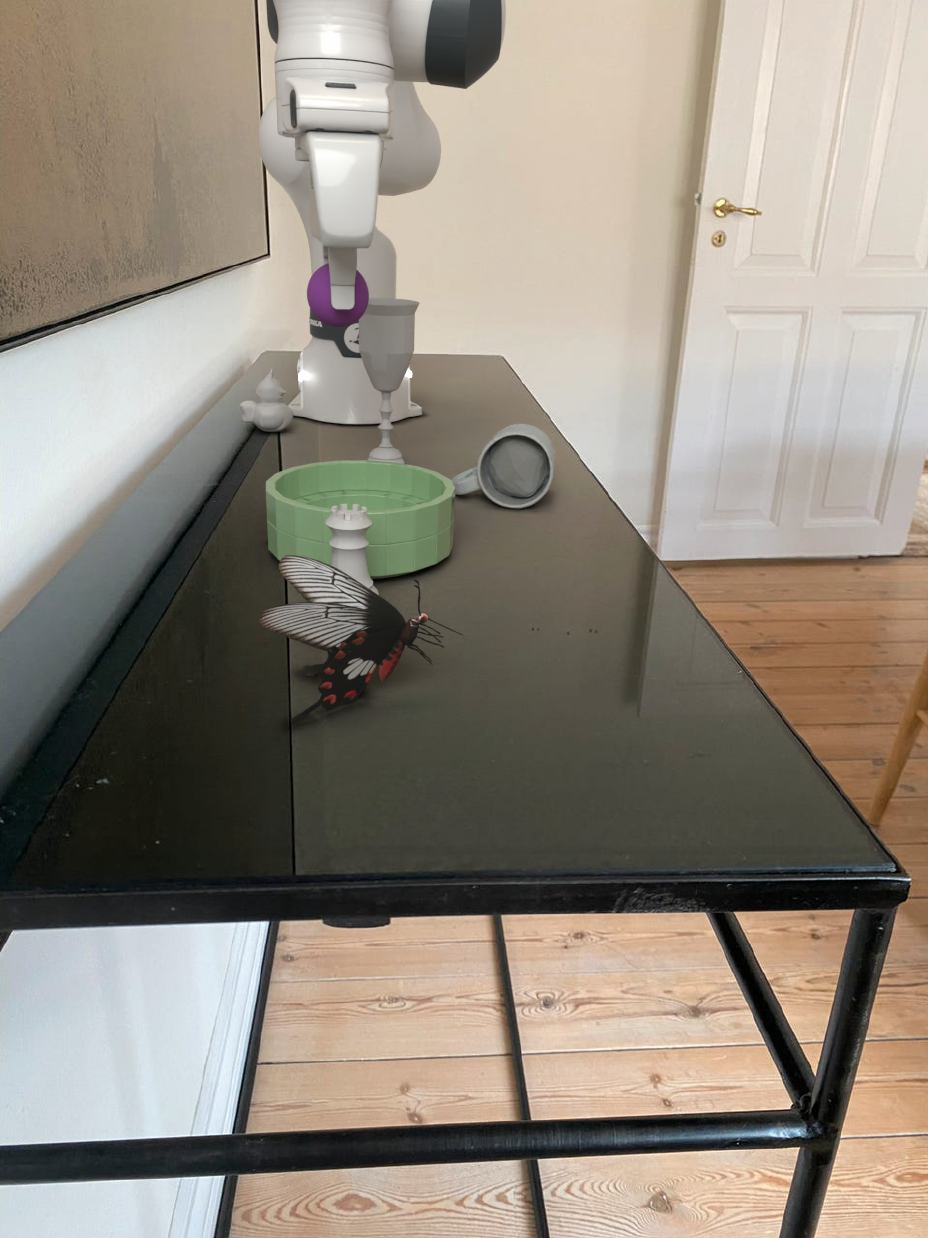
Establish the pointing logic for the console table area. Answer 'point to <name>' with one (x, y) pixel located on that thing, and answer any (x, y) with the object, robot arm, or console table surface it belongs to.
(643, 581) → the console table surface
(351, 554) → the rook chess piece
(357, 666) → the butterfly
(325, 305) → the ball
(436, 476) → the bowl
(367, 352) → the chalice
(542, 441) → the ceramic mug
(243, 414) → the rubber duck
